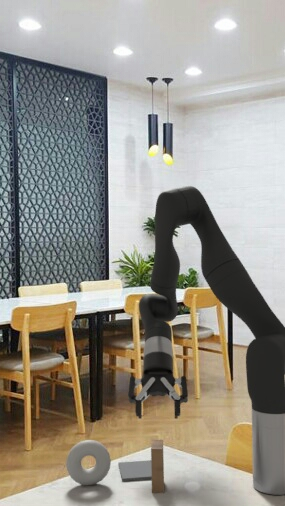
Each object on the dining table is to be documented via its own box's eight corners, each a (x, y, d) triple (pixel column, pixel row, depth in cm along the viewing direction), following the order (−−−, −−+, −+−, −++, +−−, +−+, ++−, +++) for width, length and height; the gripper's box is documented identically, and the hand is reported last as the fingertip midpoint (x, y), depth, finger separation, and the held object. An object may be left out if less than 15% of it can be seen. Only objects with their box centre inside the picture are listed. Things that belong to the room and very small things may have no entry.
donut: (110, 479, 138) (109, 436, 138) (112, 486, 135) (111, 441, 135) (66, 483, 137) (65, 439, 137) (66, 489, 134) (65, 444, 133)
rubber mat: (155, 462, 148) (155, 460, 148) (161, 478, 139) (161, 475, 139) (118, 465, 147) (118, 462, 147) (122, 481, 137) (122, 478, 137)
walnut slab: (152, 481, 137) (151, 439, 137) (163, 481, 137) (163, 439, 137) (151, 492, 131) (151, 449, 131) (163, 492, 131) (162, 449, 131)
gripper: (129, 350, 152) (126, 409, 140) (186, 349, 151) (188, 408, 140) (131, 367, 157) (128, 425, 146) (186, 366, 156) (188, 424, 145)
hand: (158, 417), depth 143 cm, fingers open, 8 cm apart
